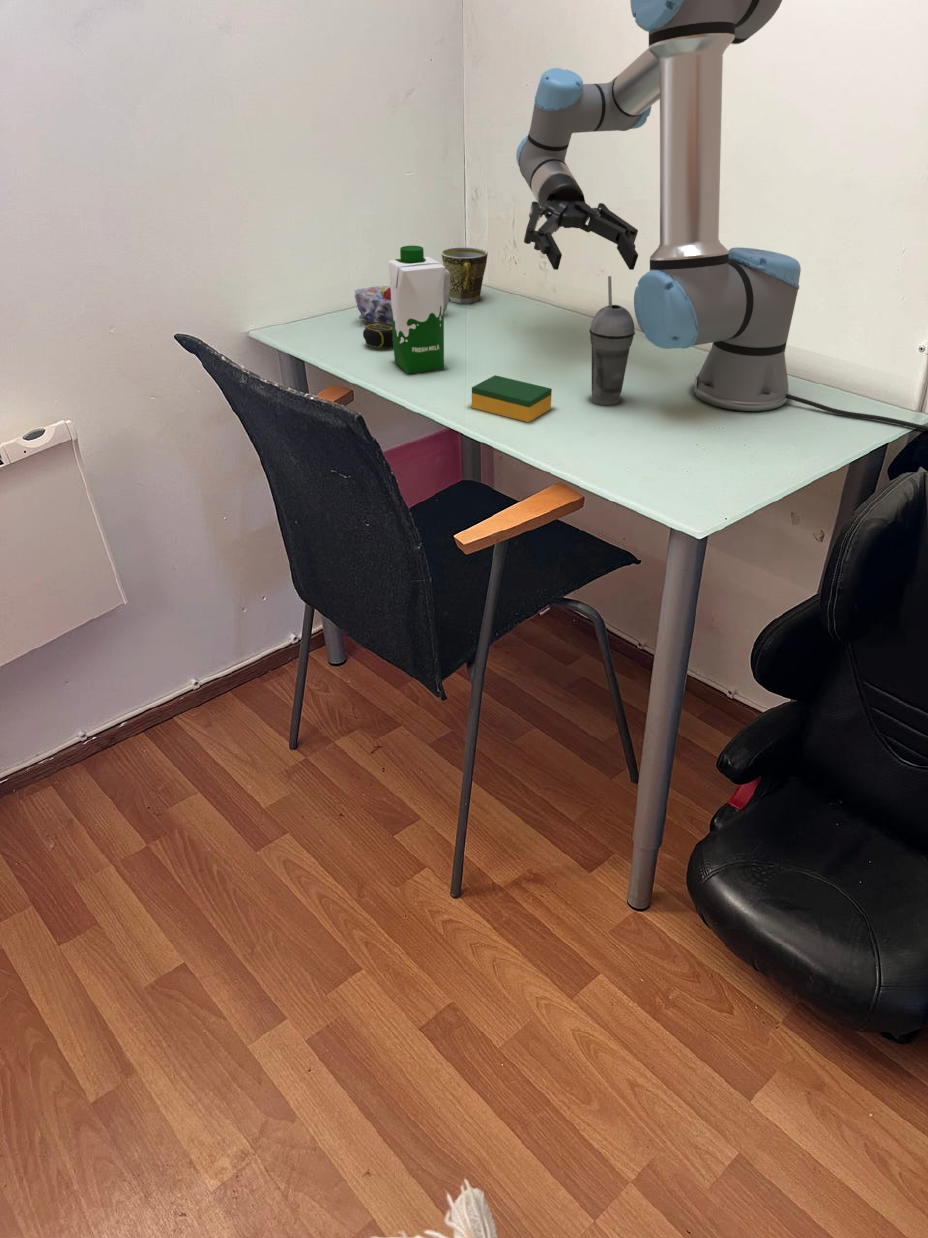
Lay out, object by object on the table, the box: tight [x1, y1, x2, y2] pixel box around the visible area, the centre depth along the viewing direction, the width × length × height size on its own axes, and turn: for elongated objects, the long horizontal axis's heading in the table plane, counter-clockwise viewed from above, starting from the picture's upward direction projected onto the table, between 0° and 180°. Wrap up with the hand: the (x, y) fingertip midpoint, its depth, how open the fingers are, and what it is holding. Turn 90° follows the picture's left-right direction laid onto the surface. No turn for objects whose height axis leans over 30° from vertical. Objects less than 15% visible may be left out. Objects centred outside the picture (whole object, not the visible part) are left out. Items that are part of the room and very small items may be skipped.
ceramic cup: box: [441, 246, 489, 305], centre depth 199 cm, size 13×10×10 cm
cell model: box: [354, 269, 450, 325], centre depth 188 cm, size 13×11×20 cm
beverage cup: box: [588, 275, 636, 406], centre depth 148 cm, size 7×7×20 cm
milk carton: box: [388, 245, 445, 375], centre depth 161 cm, size 9×9×20 cm
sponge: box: [471, 375, 553, 423], centre depth 149 cm, size 11×7×4 cm, turn 55°
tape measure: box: [362, 322, 393, 349], centre depth 176 cm, size 7×7×4 cm
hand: (596, 262), depth 150 cm, fingers open, 13 cm apart
